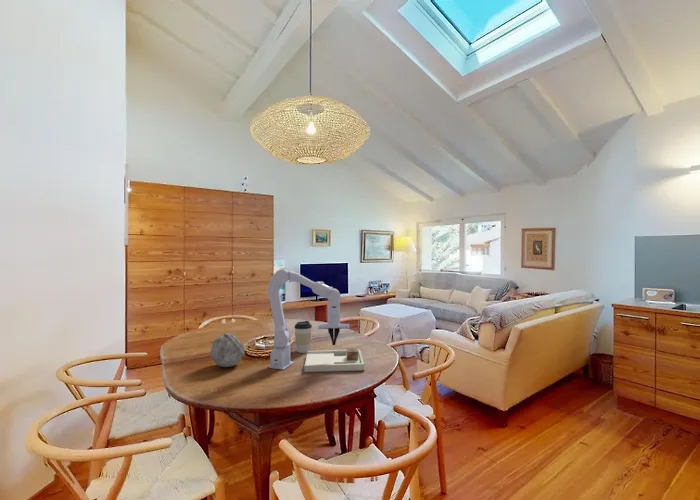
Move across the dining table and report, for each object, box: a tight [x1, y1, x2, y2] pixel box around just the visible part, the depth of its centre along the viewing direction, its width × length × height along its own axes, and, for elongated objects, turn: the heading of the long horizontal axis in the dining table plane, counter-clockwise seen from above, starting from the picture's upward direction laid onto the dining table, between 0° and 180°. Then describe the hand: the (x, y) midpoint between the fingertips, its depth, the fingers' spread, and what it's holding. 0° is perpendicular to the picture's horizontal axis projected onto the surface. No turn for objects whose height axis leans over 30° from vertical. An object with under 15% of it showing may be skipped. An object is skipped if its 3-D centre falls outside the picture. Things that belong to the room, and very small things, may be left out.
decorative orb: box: [210, 332, 246, 368], centre depth 146 cm, size 15×14×15 cm
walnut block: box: [346, 347, 359, 361], centre depth 149 cm, size 5×5×4 cm
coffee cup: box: [293, 320, 313, 354], centre depth 167 cm, size 9×9×15 cm
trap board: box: [303, 349, 365, 374], centre depth 149 cm, size 26×20×3 cm
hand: (333, 344), depth 149 cm, fingers closed
